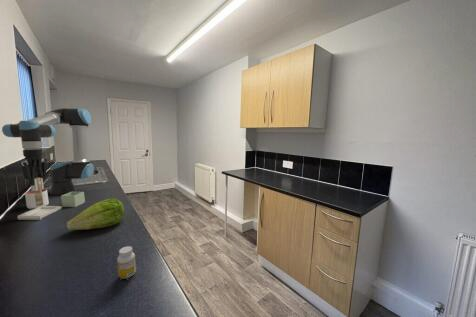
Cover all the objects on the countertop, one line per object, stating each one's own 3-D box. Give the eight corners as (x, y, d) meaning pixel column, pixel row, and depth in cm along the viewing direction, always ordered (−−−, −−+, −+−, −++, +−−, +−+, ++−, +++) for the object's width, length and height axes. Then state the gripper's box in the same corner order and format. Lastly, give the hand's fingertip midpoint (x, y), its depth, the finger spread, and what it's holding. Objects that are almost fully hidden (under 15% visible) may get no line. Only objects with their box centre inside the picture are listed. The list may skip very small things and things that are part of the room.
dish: (42, 209, 124) (41, 205, 124) (61, 209, 124) (61, 206, 124) (18, 219, 110) (17, 215, 110) (40, 220, 110) (39, 215, 110)
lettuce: (64, 214, 102) (60, 209, 91) (118, 198, 118) (120, 192, 106) (72, 241, 100) (69, 240, 89) (126, 221, 115) (129, 217, 104)
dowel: (39, 204, 117) (36, 177, 115) (44, 204, 118) (41, 177, 115) (34, 206, 115) (30, 178, 112) (40, 206, 115) (36, 178, 112)
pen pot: (72, 203, 135) (71, 191, 134) (85, 203, 135) (83, 191, 134) (62, 207, 127) (60, 195, 126) (75, 208, 127) (74, 195, 126)
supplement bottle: (123, 269, 73) (121, 245, 72) (138, 269, 73) (137, 244, 72) (115, 281, 68) (113, 254, 66) (132, 280, 68) (130, 254, 67)
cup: (53, 204, 133) (51, 189, 132) (36, 210, 123) (34, 194, 122) (39, 203, 134) (37, 188, 133) (22, 209, 124) (20, 193, 123)
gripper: (39, 147, 119) (44, 185, 123) (9, 150, 103) (15, 194, 107) (52, 147, 119) (56, 185, 123) (24, 150, 104) (30, 194, 107)
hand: (37, 189), depth 115 cm, fingers closed on dowel, 3 cm apart
